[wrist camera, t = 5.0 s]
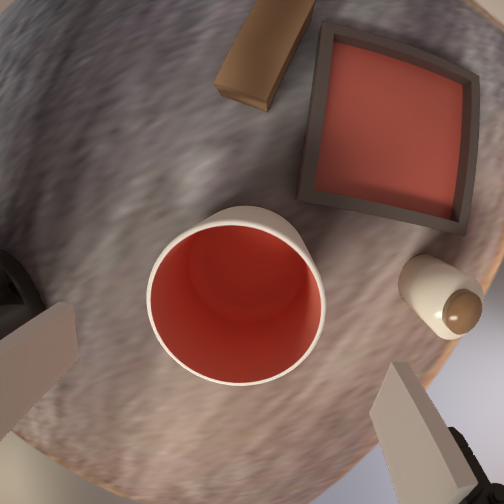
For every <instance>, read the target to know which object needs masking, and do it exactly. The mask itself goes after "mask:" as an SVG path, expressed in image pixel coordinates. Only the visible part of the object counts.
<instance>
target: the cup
mask: <svg viewBox="0 0 504 504" xmlns="http://www.w3.org/2000/svg"><path fill="white" fill-rule="evenodd" d="M147 309H148V315H149V319H150V323H151V325H152V328H153V331H154V333H155V335H156V336H157V338H158V340H159V342H160V343H161V345H162V346H163V348H164V349H165V350H166V351H167V353H168V354H169V355H170V356H171V357H172V358H173V359H174V360H175V361H176V362H178V363H179V364H180V365H181V366H183V367H184V368H185V369H187V370H188V371H190V372H192V373H194V374H195V375H197V376H200V377H202V378H204V379H207V380H209V381H213V382H216V383H221V384H226V385H237V386H245V385H255V384H260V383H264V382H268V381H271V380H274V379H276V378H279V377H281V376H283V375H285V374H286V373H288V372H290V371H291V370H293V369H294V368H295V367H297V366H298V365H299V364H300V363H301V362H302V361H303V360H304V359H305V358H306V357H307V356H308V355H309V354H310V352H311V351H312V350H313V348H314V346H315V345H316V343H317V341H318V339H319V337H320V335H321V332H322V329H323V326H324V322H325V317H326V295H325V290H324V285H323V282H322V279H321V276H320V274H319V272H318V270H317V268H316V266H315V264H314V262H313V260H312V258H311V256H310V254H309V252H308V250H307V248H306V246H305V244H304V242H303V240H302V238H301V236H300V235H299V233H298V232H297V231H296V229H295V228H294V227H293V226H292V225H291V224H290V223H289V222H288V221H287V220H285V219H284V218H283V217H281V216H280V215H278V214H276V213H274V212H272V211H270V210H267V209H264V208H261V207H256V206H236V207H231V208H227V209H224V210H221V211H219V212H217V213H215V214H213V215H212V216H210V217H208V218H207V219H205V220H203V221H201V222H200V223H198V224H196V225H195V226H193V227H191V228H190V229H188V230H186V231H185V232H183V233H182V234H180V235H179V236H177V237H176V238H175V239H174V240H172V241H171V242H170V243H169V244H168V245H167V246H166V248H165V249H164V250H163V251H162V253H161V254H160V256H159V257H158V259H157V260H156V262H155V264H154V266H153V269H152V271H151V274H150V277H149V281H148V286H147Z"/></svg>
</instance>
